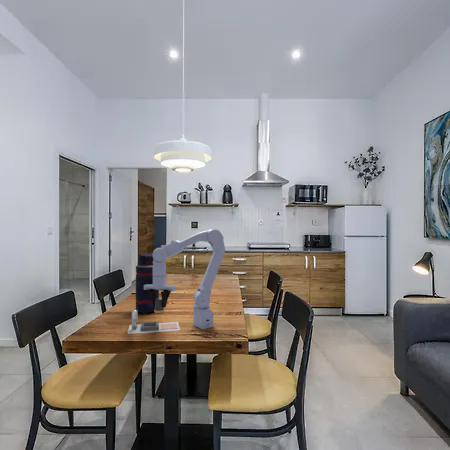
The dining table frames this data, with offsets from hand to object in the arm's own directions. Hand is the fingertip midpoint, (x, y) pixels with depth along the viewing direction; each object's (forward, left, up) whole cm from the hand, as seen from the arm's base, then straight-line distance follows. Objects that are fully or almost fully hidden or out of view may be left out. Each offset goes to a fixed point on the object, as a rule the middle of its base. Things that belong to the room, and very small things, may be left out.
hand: (159, 306), depth 139 cm
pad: (-1, -4, -9) cm, 10 cm away
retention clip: (-1, +11, -9) cm, 14 cm away
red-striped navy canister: (+31, -5, -10) cm, 33 cm away
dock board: (+1, +2, -10) cm, 10 cm away
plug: (0, 0, -3) cm, 3 cm away
